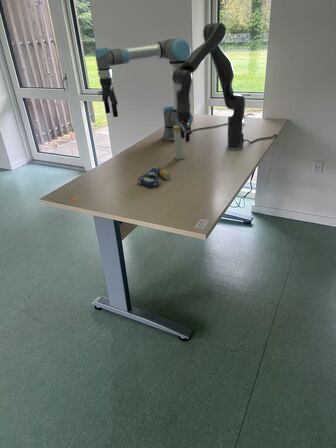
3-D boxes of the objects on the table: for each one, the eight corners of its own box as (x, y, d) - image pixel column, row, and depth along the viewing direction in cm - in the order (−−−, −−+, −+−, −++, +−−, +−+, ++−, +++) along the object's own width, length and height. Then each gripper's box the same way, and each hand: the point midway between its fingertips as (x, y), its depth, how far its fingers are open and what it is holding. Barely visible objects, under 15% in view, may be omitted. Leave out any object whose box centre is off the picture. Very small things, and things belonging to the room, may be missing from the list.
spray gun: (175, 173, 189) (152, 171, 196) (175, 166, 187) (151, 164, 193) (159, 190, 174) (134, 186, 180) (158, 182, 172) (133, 179, 178)
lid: (179, 131, 199) (179, 127, 198) (171, 131, 202) (171, 127, 200) (183, 129, 203) (183, 125, 202) (176, 128, 205) (176, 124, 204)
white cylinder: (181, 159, 209) (179, 128, 198) (174, 158, 211) (172, 127, 201) (184, 157, 212) (183, 126, 202) (178, 156, 214) (176, 125, 204)
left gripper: (93, 76, 203) (99, 112, 214) (107, 80, 184) (113, 119, 195) (104, 75, 206) (110, 110, 217) (119, 78, 187) (125, 117, 198)
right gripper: (194, 111, 175) (195, 142, 184) (185, 106, 187) (187, 135, 196) (181, 113, 174) (182, 144, 182) (173, 108, 186) (175, 137, 194)
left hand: (111, 114), depth 206 cm, fingers open, 13 cm apart
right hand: (185, 139), depth 189 cm, fingers open, 8 cm apart
